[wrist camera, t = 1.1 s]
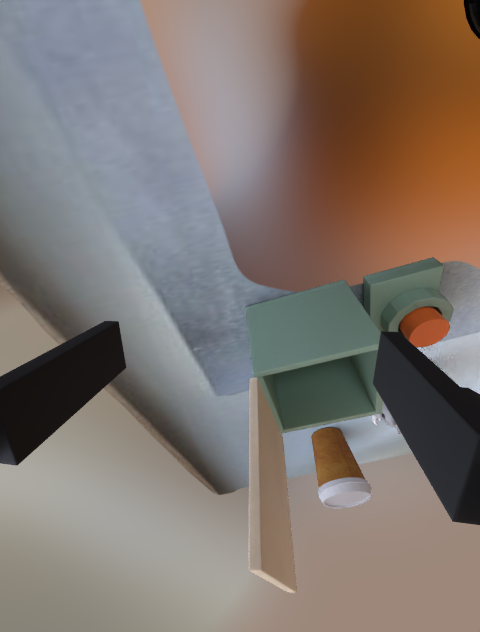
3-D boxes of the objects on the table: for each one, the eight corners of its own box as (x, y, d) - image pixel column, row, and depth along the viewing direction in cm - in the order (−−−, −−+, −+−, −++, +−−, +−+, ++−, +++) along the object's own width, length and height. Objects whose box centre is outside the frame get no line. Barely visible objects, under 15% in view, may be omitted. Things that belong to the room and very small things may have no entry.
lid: (261, 570, 15) (248, 571, 16) (297, 593, 23) (287, 592, 23) (257, 376, 26) (249, 378, 26) (282, 437, 33) (276, 438, 34)
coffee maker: (344, 279, 33) (387, 342, 24) (349, 347, 40) (382, 413, 32) (245, 306, 34) (252, 373, 26) (267, 367, 42) (279, 434, 34)
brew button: (400, 311, 32) (411, 325, 30) (440, 302, 31) (453, 314, 29) (397, 337, 34) (407, 350, 33) (434, 328, 34) (446, 342, 32)
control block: (363, 276, 33) (378, 295, 29) (439, 255, 31) (463, 272, 28) (364, 342, 40) (376, 363, 37) (425, 328, 39) (443, 348, 36)
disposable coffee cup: (324, 449, 61) (342, 512, 52) (294, 438, 57) (308, 504, 48) (358, 431, 57) (385, 496, 47) (329, 417, 53) (352, 486, 43)
